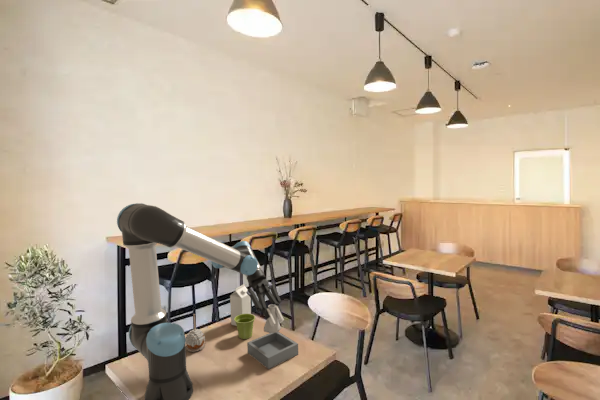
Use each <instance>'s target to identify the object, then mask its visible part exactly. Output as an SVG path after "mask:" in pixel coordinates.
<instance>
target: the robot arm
mask: <svg viewBox="0 0 600 400" xmlns="http://www.w3.org/2000/svg"><path fill="white" fill-rule="evenodd" d="M116 224H117V225H116V226H117V227H118V229H119V231H120V232H121V235H122V245H123V246H124V247H125V248H127V249H128V255H129V266H130V267H129V268H130V274H131V283H132V293H133V304H134V314H133V316H132V317H131V318H130V326H129V329H128V339H129V342H130V343H131V345H132V346H133V348H135V349H136V350H137V351H138V352H139V353H140V354H141V355H142V356H143V357H144V358H145V359H146V361H147V364H148V377H149V378H148V382H147V384H146V385H147V386H146V389H145V393H144V398H143V399H144V400H191V398H192V395H193V393H194V387H193V385H194V384H193V381H192V378H191V376H190V375H189V372H188V370H187V354H186V353H187V349H186V340H185V339H186V335H185V330H184V328H183V327H182V326H181V325H180V324H178V323H175V322H173V323H172V322H168V317H167V316H168V315H167V310H165V309H164V308H162V301H161V299H162V298H161V290H160V278H159V266H158V259H157V258H158V256H157V247H156V245H157V244H158V245H162V246H165V247H168V248H174V247H176V248H178V249H181V250H183V251H187V252H189V253H191V254H193V255H196V256H198V257H200V258H202V259H205V260H208V261H210V262H211V265H212V266H213V268H215V269H223V268H226V269H228V270H232V271H235V272H237V273H239V274H242V275H244V276H245V278H246V280H247V282H248V284H249V288H247V289H248V290H247V292H246V293H247V294H248V295H249V296H250V298H251V303H253V306H254V308H255V310H257V311H256V312H258V313H260V312H261V313H262V314H263V316H264V317H265V319H266V320H267V319H268V320H269V322H270V324H271V327H272V326H274V325H275V324H276V323H275V320H274V318H273V316H272V314H271V312H270V310H269V308H268V307H267V305H266V301H265V298H264V295H265V296H266V298H267V299H268V301H269V302H270V303H271V304H273V305H276V307H275V313H276V316H277V319H278V321H279V324H282V323H283V322H284V321H285V318H284V316H283V314H282V309H281V307H280V304H281V303H282V300H281V298H280V297H281V296H280V295H279V293H278V291H277V288H276V284H275V281H271V282H270V281H268V279H267V278H266V275H265V273H264V271H263V269H262V266H261V265H260V263H259V261H258V258H257V257H256V255H255V253H254V251H253V248H252V246H251V245H250V243H249V241H246V240H242V241H239V242H236V244H234V245H233V247H232V246H229V245H227V244H225V243H223V242H221V241H219V240H217V239H214V238H212V237H211V236H208V235H206V234H204V233H201V232H200V231H197V230H195V229H194V228H191V227H189V226H186V223H185V221H183V220H181V219H179V218H177V217H176V216H174V215H172V214H170V213H169V212H167V211H165V210H164V209H162V208H160V207H158V206H156V205H150V204H145V203H142V202H141V203H138V202H137V203H131V204H128V205H126V206H125V207H123V208H122V209H121V210H120V211H119V213H118V215H117V217H116ZM271 304H270V305H271Z"/></svg>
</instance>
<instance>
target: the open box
mask: <svg viewBox="0 0 600 400" xmlns="http://www.w3.org/2000/svg"><path fill="white" fill-rule="evenodd" d="M246 349H247V354H248V355H250V356H251V357H252V358H254V360H256V361H257V362H258V363H259V364H261V365H262V366H263V367H265V368H266V369H267V370H271V369H273V368H274V367H276V366H278V365H280V364H282V363H284V362H285V361H289V359H292V358H293V357H295V356H297V355H299V343H298V342H296V341H295V340H292V339H291V338H290V337H287V336H286V334H285V335H284V334H283V333H281V332H280V331H278V332H276V333H267V334H264V335H262V336H260V337H258V338H255V339H252V340H250V341H247V348H246Z"/></svg>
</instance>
